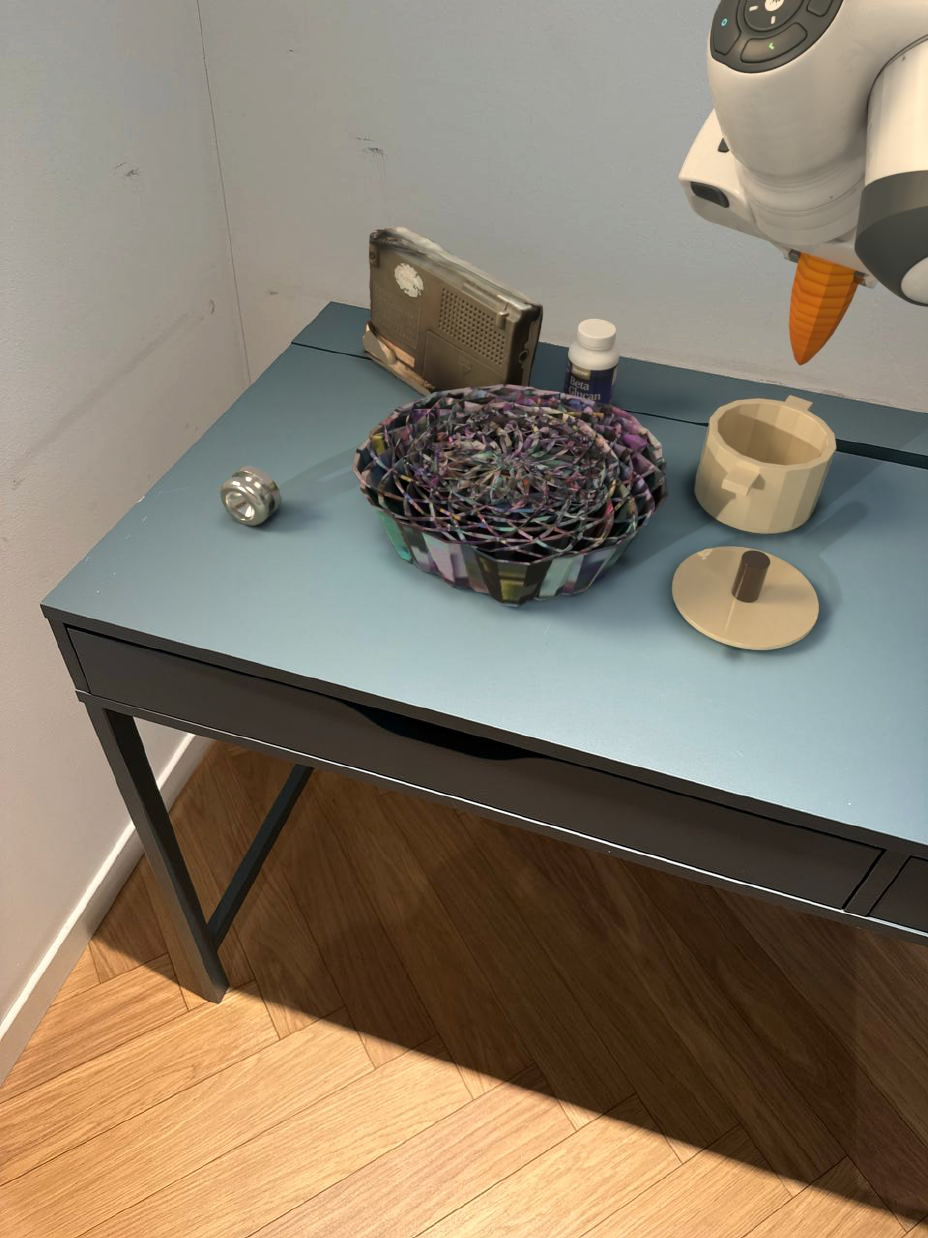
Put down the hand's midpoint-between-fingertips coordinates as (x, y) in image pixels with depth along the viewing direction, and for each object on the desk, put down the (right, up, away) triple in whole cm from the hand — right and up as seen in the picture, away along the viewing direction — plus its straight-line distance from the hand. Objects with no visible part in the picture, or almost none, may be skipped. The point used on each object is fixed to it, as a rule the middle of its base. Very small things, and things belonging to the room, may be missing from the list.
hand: (833, 265), depth 75 cm
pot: (0, -15, +21) cm, 26 cm away
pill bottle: (-15, -5, +31) cm, 35 cm away
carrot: (-1, -6, +6) cm, 9 cm away
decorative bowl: (-25, -20, +16) cm, 35 cm away
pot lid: (-4, -26, +9) cm, 28 cm away
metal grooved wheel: (-49, -18, +16) cm, 55 cm away
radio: (-30, -1, +34) cm, 45 cm away
